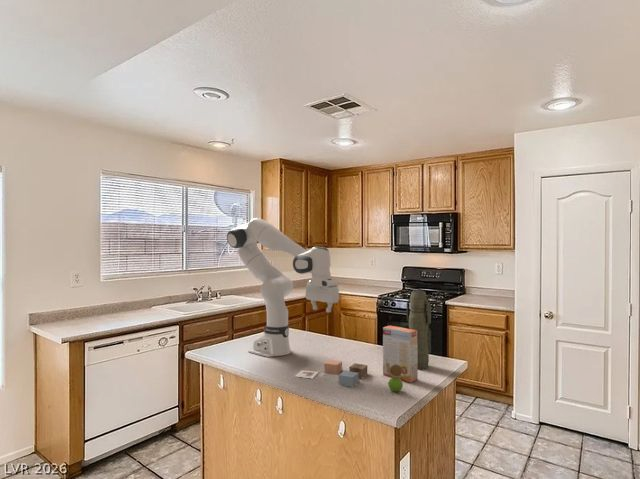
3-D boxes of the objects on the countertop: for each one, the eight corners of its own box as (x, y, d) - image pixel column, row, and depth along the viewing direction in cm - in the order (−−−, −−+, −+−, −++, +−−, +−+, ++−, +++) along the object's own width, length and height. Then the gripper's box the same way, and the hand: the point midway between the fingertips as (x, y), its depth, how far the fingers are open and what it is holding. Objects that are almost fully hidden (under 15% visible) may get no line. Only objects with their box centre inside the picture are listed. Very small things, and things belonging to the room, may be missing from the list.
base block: (349, 376, 167) (349, 367, 167) (354, 372, 172) (354, 363, 172) (362, 378, 164) (362, 369, 164) (367, 374, 169) (367, 365, 169)
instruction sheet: (294, 376, 166) (294, 375, 166) (301, 370, 173) (301, 370, 173) (312, 379, 163) (312, 378, 163) (318, 372, 171) (318, 371, 171)
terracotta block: (324, 372, 172) (324, 363, 172) (329, 368, 177) (329, 359, 177) (336, 374, 169) (336, 365, 169) (342, 370, 175) (342, 361, 175)
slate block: (338, 384, 157) (338, 375, 157) (345, 380, 162) (345, 370, 162) (352, 387, 154) (352, 377, 154) (358, 382, 159) (358, 372, 159)
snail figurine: (386, 387, 153) (386, 357, 153) (403, 389, 151) (403, 358, 151) (385, 392, 148) (384, 361, 148) (402, 394, 146) (402, 363, 146)
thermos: (427, 371, 172) (427, 292, 172) (402, 366, 179) (402, 290, 179) (434, 366, 179) (434, 290, 179) (410, 361, 186) (410, 288, 186)
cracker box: (418, 379, 162) (418, 329, 162) (410, 383, 158) (410, 332, 158) (390, 371, 172) (390, 324, 172) (382, 374, 168) (382, 326, 168)
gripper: (302, 280, 186) (302, 309, 186) (330, 283, 171) (331, 314, 171) (312, 279, 190) (312, 307, 190) (341, 282, 175) (341, 312, 175)
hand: (321, 310), depth 180 cm, fingers open, 8 cm apart
